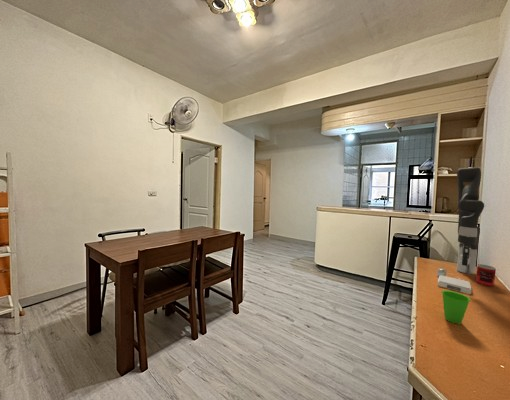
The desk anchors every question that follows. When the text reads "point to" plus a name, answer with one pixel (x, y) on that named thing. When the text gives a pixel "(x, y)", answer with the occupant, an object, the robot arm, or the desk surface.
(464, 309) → the cup
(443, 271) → the disc
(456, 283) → the scale
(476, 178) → the robot arm
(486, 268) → the canned food
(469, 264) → the cylinder
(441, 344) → the desk surface
